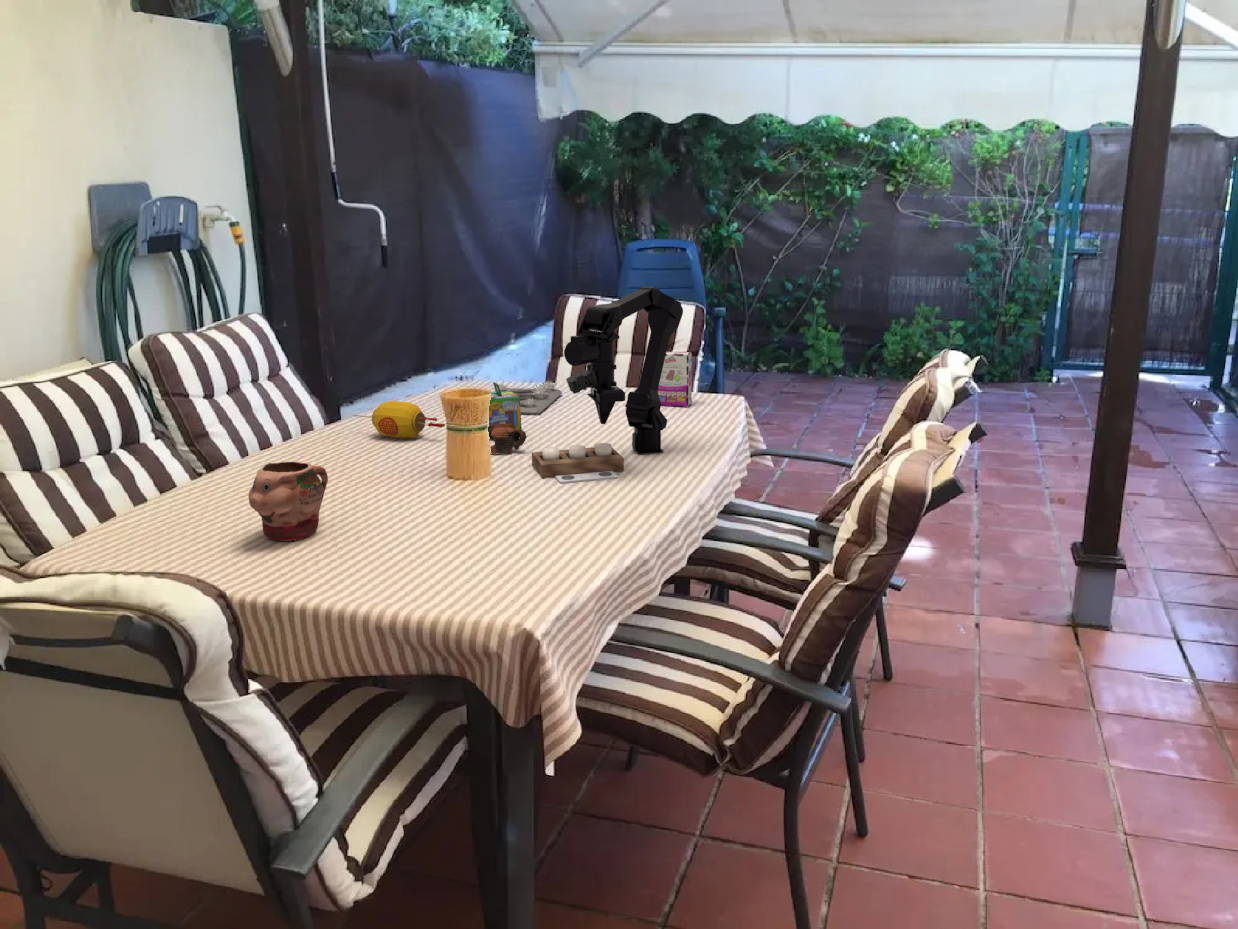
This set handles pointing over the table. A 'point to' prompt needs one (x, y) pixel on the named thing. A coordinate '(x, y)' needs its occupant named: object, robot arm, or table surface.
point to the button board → (577, 463)
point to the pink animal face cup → (288, 499)
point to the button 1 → (550, 453)
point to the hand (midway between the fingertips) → (603, 423)
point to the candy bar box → (676, 380)
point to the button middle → (577, 451)
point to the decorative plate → (534, 397)
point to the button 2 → (602, 449)
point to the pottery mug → (505, 438)
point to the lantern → (400, 419)
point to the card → (586, 477)
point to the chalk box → (504, 408)
